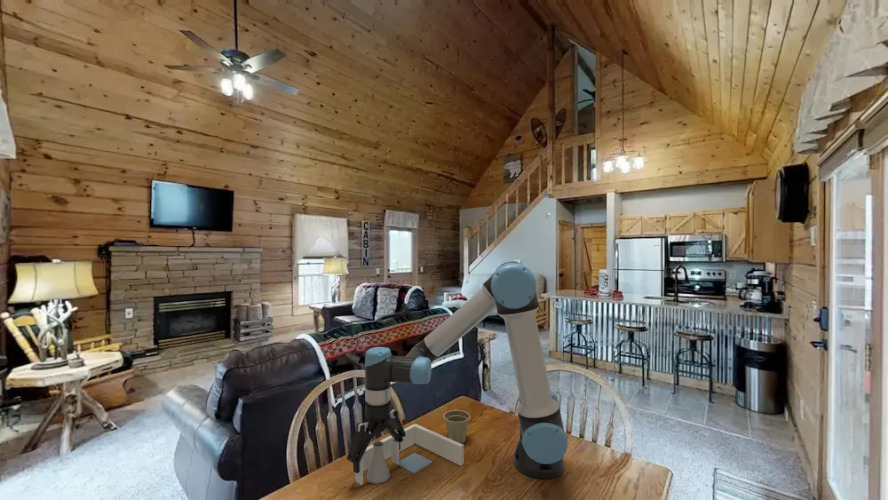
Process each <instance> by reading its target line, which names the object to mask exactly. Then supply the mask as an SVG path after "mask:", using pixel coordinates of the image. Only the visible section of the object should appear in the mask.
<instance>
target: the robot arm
mask: <svg viewBox="0 0 888 500" xmlns="http://www.w3.org/2000/svg"><path fill="white" fill-rule="evenodd" d="M539 308H540V305H539V300H538V295H537V282H536V277H535V275H534V273H533V272H532V271H531V269H529V268H528V267H527V266H526V265H524V264H523V263H521V262H518V261H506V262H504V263H502V264H500V265H499V266H498V267H496V269H495V271H494V272H493V273H492V275H491V276H489V278H488V279H487V280H485V282H483V283H482V286H481V289H480V290H479V291H478V292H477V293H475V294H474V295H473V296H472V297H470V298H469V299H468V300H467V301H466V302H465V303H464V304H462V305H461V306H460V307H459V308H458V309H457V310H456V311H455V312H453V313H452V314H451V315H449V316H448V317H447V318H446V319H445V320H443V322H442V323H440V324H439V325H438V326H437V327H436V328H434V329H433V331H431V332H430V333H429V334H427V335H426V336H425V337H424V338H423V339H422V340H421V341H419V342H418V343H416V344H415V345H414V346H413V347H412V348H411V349H410V351H409V352H408V353H407V354H406V355H405V356H404V355H403V356H402V355H401V356H400V355H398V356H397V355H392V352H391V349H390V348H389V347H384V346H376V347H371V348H369V349H368V350H366V352H365V358H364V380H365V381H364V384H365V385H364V391H365V392H364V396H365V397H364V400H365V403H364V414H365V418H366V419H365V422H362V423H360V422H358V423H356V425H355V427H356V428H355V433H354V436H353V440H352V442H351V443H350V444H351V445H350V447H349V450H348V453H347V456H346V460H347V461H349V462H351V463H352V471H353V473H354V474H355V475H354V479H355V480H354V481H355V482H356V483H357V484H359V485H361V486H362V485H363V484H364V472H363V460H361V458H362V457H363V455H364V453H365V451H366V449H367V447H368V446H370V445H369V444H370V443H371V441H372V440H373V439H374V438H375V436H376V435H378V434H380V433H382V432H384V431H386V432H388V434H389V436H392V437H393V438H394V439H395V440H394V439H393V440H392V456H391V462H392V463H395V464H396V465H397V464H398V463H399V461H400V452H399V450H400V442H402V441H403V438H402V437H405V435H406V433H405V431H404V429H405V428H404V426H403V424H402V422H401V420H400V418H399V412H398V410H397V409H394V408H392V405H391V404H392V403H391V398H392V388H391V387H392V386H391V385H392V383H396V384H397V383H398V384H399V383H400V384H413V385H427V384H428V383H430V380H431V376H432V363H433V362H434V361H436V360H437V359H438V358H439V357H440V356H441V355H443V354H444V353H445V352H446V351H447V350H448V349H450V348H451V347H452V346H454V344H456V343H457V342H458V341H459V340H460V339H462V338H463V337H465V335H466V334H468V333H469V332H470V331H471V330H473V329H474V328H475V327H476V326H477V325H479V324H480V323H481V322H482V321H483V320H485V318H487V317H488V316H489V315H490V314H492V313H493V312H494V311H495V310H496V313H497V315H498V316H499V317H501V318H502V319H503V321H504V325H505V329H506V335H507V340H508V344H509V349H510V354H511V360H512V365H513V369H514V374H515V375H514V376H515V378H516V385H517V389H518V394H519V395H518V396H519V398H518V401H519V404H518V406H517V408H516V413H517V417H518V423H519V438H518V441H517V445H516V448H515V450H514V453H513V464H514V466H515V468H516V469H517V470H518V471H519V472H521V473H522V474H524V475H526V476H527V477H531V478H534V479H542V480H548V479H554V478H557V477H559V476H560V475H562V474H563V472H564V469H565V467H564V464H565V463H564V462H565V461H564V457H565V455H566V454H567V451H568V445H569V444H568V443H569V441H568V435H567V433H566V432H565V428H564V423H563V418H562V413H561V408H560V404H559V400H558V395H557V393H556V392H554V391H551V386H550V382H549V377H548V373H547V368H546V367H547V366H546V363H545V357H544V351H543V347H542V343H541V338H540V332H539V327H538V323H537V317H536V313H537V311H538V310H539ZM390 420H391V422H392V425H393V426H394V428H395V429H394V428H393V426H392V425H391V424H390V423H389V422H390Z"/></svg>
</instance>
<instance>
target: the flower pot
mask: <svg viewBox="0 0 888 500" xmlns="http://www.w3.org/2000/svg"><path fill="white" fill-rule="evenodd" d="M443 419H444V422H445V426H446V431H447V438H449V439H451V440H454V441H456V442H458V443H460V444H464V443H466V442H465V441H466V439H467V435H468V434H467V433H468V432H467V431H468V426H469V425H468V424H469V421H470V419H471V415H470V414H469V412H467V411H465V410H460V409H459V410H458V409H453V410H448V411H447V412H444V414H443Z"/></svg>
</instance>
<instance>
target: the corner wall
mask: <svg viewBox="0 0 888 500" xmlns="http://www.w3.org/2000/svg"><path fill="white" fill-rule="evenodd" d="M403 429H404V431H405V433H406V435H405V437H402V438H403V441H402V442H400V450H399V453H400V452H402V451H404V450H405V449H408V448H409V447H411V446H413V445H417V446H419V447H421V448H423V449H425V450H428V451H429V452H432V453H433V454H436V455H438V456H440V457H442V458H444V459H446V460H448V461H450V462H452V463H454V464H455V465H458V466H463V465H464V463H465V461H464V459H465V456H464V455H465V453H464V448H465V445H464V443H461V444H460V443H458V442H456V441H454V440H451V439H449V438H448V436H445V435H442V434H441V433H440V434H439V433H438V432H435V431H433V430H430V429H428V428H426V427H424V426H422V425H420V424H417V423H413V424H412V425H409V426H407V427H405V428H403ZM393 439H394V438H393V437H392V436H391V435H389V436H387V437H385V438H382V439H380V441H381V442H383V444H384V445H383V455H384V458H385V461H386V460H388V459H389V458H392V440H393ZM394 440H395V439H394ZM373 453H374V447H373V443H372V444H370V445H368V447H367V449H366V451H365V453H364V455H363V457H362V458H361V460H363V473H364V472H365V471H368V470H369V467H370V464H371V461H372V458H373Z"/></svg>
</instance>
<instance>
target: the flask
mask: <svg viewBox="0 0 888 500" xmlns="http://www.w3.org/2000/svg"><path fill="white" fill-rule="evenodd" d="M372 444H373V447H374V453H373V458H372V461H371V464H370V467H369V469H368V470H367V473H366V481H367V483H371V484H375V485H377V484H382V483H386V482H387V481H388V480H389V479H390V478H391V474H390V470H389V467H388V465H387V462H386V460H385V458H384V455H383V445H384V444H383V442H381V440H379V441H377V440H376V441H374V442H373V443H372Z"/></svg>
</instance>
